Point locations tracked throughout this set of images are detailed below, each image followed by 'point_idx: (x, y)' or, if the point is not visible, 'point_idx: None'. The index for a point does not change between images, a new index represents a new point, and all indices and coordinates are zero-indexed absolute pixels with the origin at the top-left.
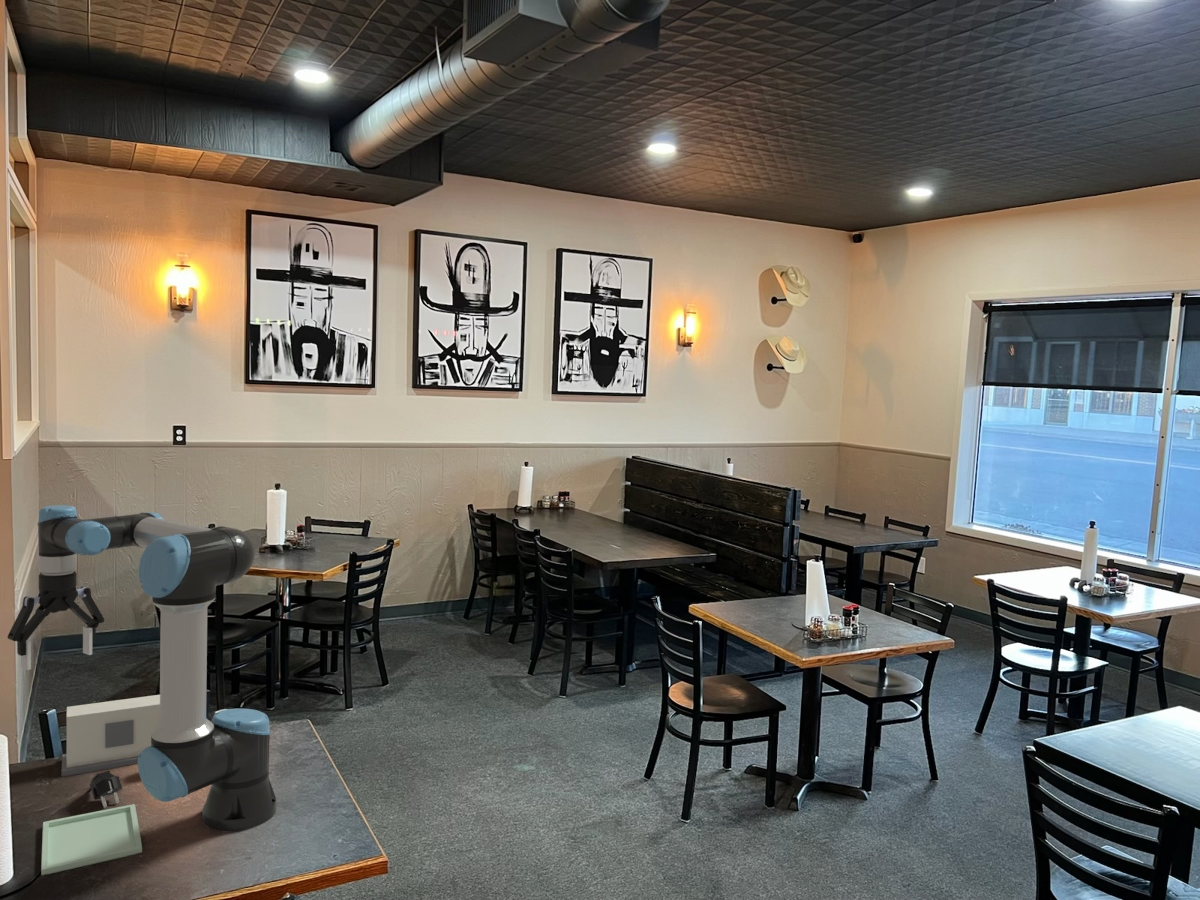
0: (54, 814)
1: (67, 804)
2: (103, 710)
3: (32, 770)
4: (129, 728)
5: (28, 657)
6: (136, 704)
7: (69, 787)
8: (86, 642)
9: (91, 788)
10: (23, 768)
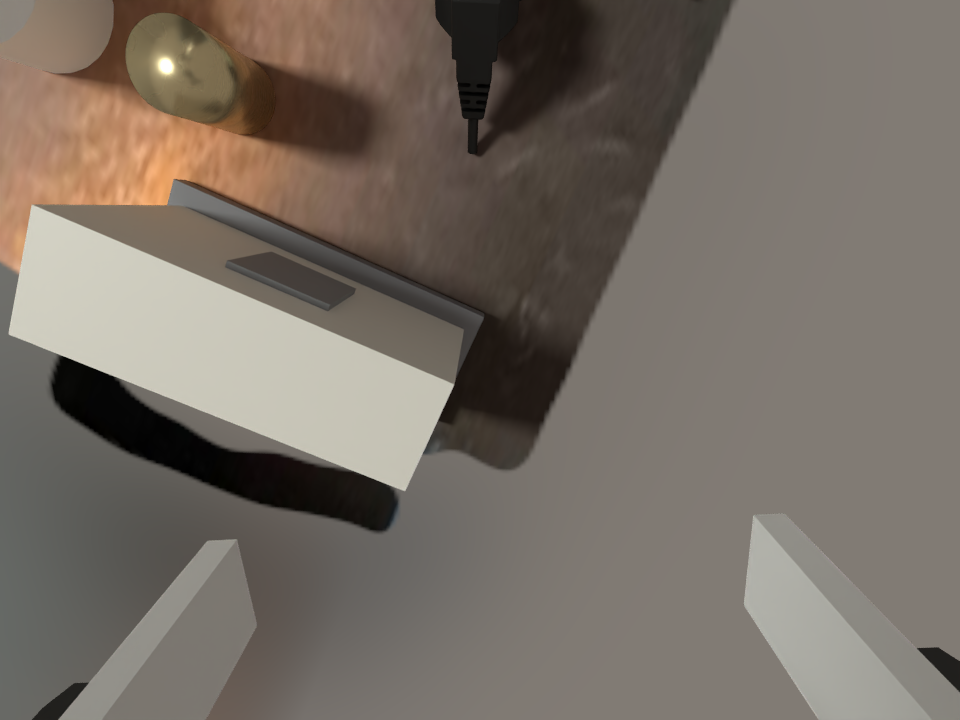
0: (609, 73)
1: (554, 113)
2: (310, 343)
3: (515, 416)
4: (257, 263)
5: (859, 600)
6: (169, 305)
7: (498, 228)
8: (181, 677)
9: (517, 17)
10: (525, 445)
